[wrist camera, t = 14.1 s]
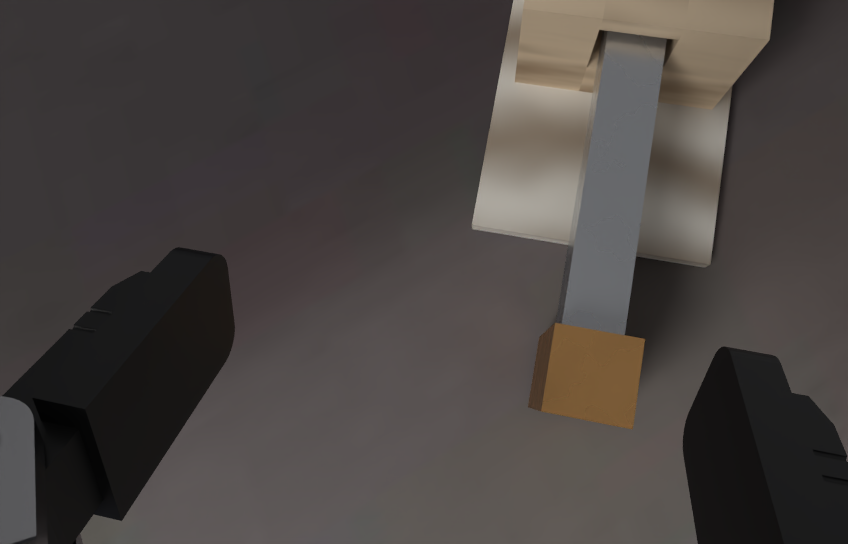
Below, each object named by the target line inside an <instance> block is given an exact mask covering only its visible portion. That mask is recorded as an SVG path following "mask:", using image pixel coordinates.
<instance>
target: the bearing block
mask: <svg viewBox="0 0 848 544" xmlns="http://www.w3.org/2000/svg"><path fill="white" fill-rule="evenodd" d="M773 6H774V0H524V6H523V13H522V22H521V31H520V39H519V48H518V57H517V66H516V74H515V82H517V83H525V84H532V85H539V86H546V87H553V88H560V89H567V90H575V91H582V92H589V93H593V87H594V81H595V74H596V68H597V62H598V56H599V49H600V43H601V37H602V31H603V30H605V31H613V32H621V33H629V34H636V35H644V36H652V37H660V38H667V41H666V48H665V55H664V63H663V70H662V77H661V84H660V91H659V98H658V102H660V103H668V104H675V105H682V106H689V107H696V108H703V109H711V110H712V109H713V108H714V107H715V106H716V104H717V103H718V102H719V101H720V100H721V98H722V97H723V96H724V95H725V93H726V92H727V91H728V90H729V89H730V87H731V86H732V85H733V84H734V83H735V81H736V80H737V79H738V78H739V76H740V75H741V74H742V73H743V72H744V70H745V69H746V68H747V67H748V66H749V64H750V63H751V62H752V61H753V60H754V58H755V57H756V56H757V55H758V53H759V52H760V51H761V50H762V49H763V47H764V46H765V45H766V44H767V43H768V41H769V40H770V32H771V24H772V15H773Z"/></svg>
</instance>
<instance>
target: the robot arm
mask: <svg viewBox="0 0 848 544" xmlns="http://www.w3.org/2000/svg"><path fill="white" fill-rule="evenodd" d="M234 332H235V325H234V316H233V308H232V299H231V291H230V283H229V274H228V267H227V262H226V260H225V258H224V257H223V256H222V255H219V254H214V253H208V252H203V251H197V250H191V249H186V248H180V247H178V248H175V249H173V250H172V251H171V252H170V253H169V254H168V255H167V256H166V257H165V258H164V259H163V260H162V261H161V262H160V263H159V264H158V265H157V266H156V267H155V268H154V269H153V271H152V272H151V273H149V272H144V271H140V272H138V273H137V274H135V275H133V276H131V277H129V278H127V279H125V280H124V281H122V282H120V283H118V284H116V285H114V286H112V287H111V288H110V289H109V290H108V291H107V292H106V293H105V294H104V295H103V296H102V297H101V298H100V299H99V300H98V301H97V302H96V303H95V304H94V305H93V306H92V307H91V311H90V312H86V313H85V314H84V315H83V316H82V317H81V318H80V319H79V320H78V321H77V322H76V323H75V324H74V328H73V329H72V330H71V329H69V330H68V331H67V332H66V333H65V334H64V335H63V336H62V337H61V338H60V339H59V340H58V341H57V342H56V343H55V344H54V345H53V346H52V347H51V348H50V349H49V350H48V351H47V352H46V353H45V354H44V355H43V356H42V357H41V358H40V359H39V360H38V361H37V362H36V363H35V364H34V365H33V366H32V367H31V368H30V369H29V370H28V371H27V372H26V373H25V374H24V375H23V376H22V377H21V378H20V379H19V380H18V381H17V382H16V383H15V384H14V385H13V386H12V387H11V388H10V389H9V390H8V391H7V392H6V393H5V394H4V395H3V396H0V544H83V542H82V538H81V535H80V533H81V531H82V530H83V528H84V527H85V525H86V524H87V523H88V521H89V520H90V518H91V517H92V515H93V514H95V515H99V516H103V517H107V518H112V519H116V520H120V521H122V520H123V518H124V516H125V515H126V513H127V512H128V510H129V509H130V507H131V506H132V504H133V503H134V501H135V500H136V498H137V497H138V495H139V494H140V492H141V490H142V489H143V487H144V486H145V484H146V483H147V481H148V480H149V478H150V477H151V475H152V474H153V472H154V471H155V469H156V468H157V466H158V464H159V463H160V461H161V460H162V458H163V457H164V455H165V454H166V452H167V451H168V449H169V448H170V446H171V445H172V443H173V441H174V440H175V438H176V437H177V435H178V434H179V432H180V431H181V429H182V428H183V426H184V425H185V423H186V422H187V420H188V419H189V417H190V415H191V414H192V412H193V411H194V409H195V408H196V406H197V405H198V403H199V402H200V400H201V399H202V397H203V396H204V394H205V393H206V391H207V389H208V388H209V386H210V385H211V383H212V382H213V380H214V379H215V377H216V376H217V374H218V373H219V371H220V370H221V368H222V367H223V365H224V363H225V362H226V360H227V358H228V356H229V354H230V351H231V348H232V344H233V340H234ZM683 455H684V461H685V467H686V473H687V480H688V486H689V492H690V498H691V504H692V510H693V516H694V523H695V529H696V535H697V541H698V544H848V462H847V461H846V458H847V455H846V452H845V450H844V447H843V445H842V443H841V440H840V438H839V435H838V433H837V431H836V428H835V426H834V424H833V423H832V422H831V421H830V420H829V419H828V418H827V417H826V415H825V414H824V413H823V412H822V411H821V410H820V409H819V408H818V406H817V405H816V404H815V403H814V402H813V401H812V400H811V399H810V397H809V396H805V395H799V394H794V393H791V390H790V387H789V385H788V382H787V379H786V376H785V374H784V371H783V368H782V366H781V363H780V361H779V359H778V358H777V357H776V356H773V355H768V354H763V353H757V352H752V351H746V350H740V349H735V348H729V347H721V348H720V349H719V350H718V351H717V352H716V354H715V356H714V358H713V360H712V362H711V364H710V367H709V369H708V371H707V373H706V376H705V378H704V380H703V382H702V384H701V387H700V389H699V391H698V393H697V395H696V398H695V400H694V402H693V404H692V407H691V409H690V411H689V413H688V416H687V419H686V423H685V428H684V435H683Z"/></svg>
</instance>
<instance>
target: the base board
mask: <svg viewBox="0 0 848 544" xmlns="http://www.w3.org/2000/svg"><path fill="white" fill-rule="evenodd" d="M523 6H524V0H513V6H512V11H511V17H510V22H509V27H508V33H507V38H506V44H505V49H504V54H503V60H502V65H501V71H500V76H499V81H498V87H497V92H496V98H495V103H494V108H493V114H492V119H491V125H490V130H489V135H488V141H487V146H486V151H485V157H484V162H483V168H482V173H481V178H480V184H479V189H478V195H477V200H476V205H475V211H474V216H473V222H472V229H475V230H481V231H487V232H493V233H499V234H505V235H511V236H517V237H523V238H529V239H535V240H541V241H547V242H553V243H559V244H565V245H568V243H569V237H570V231H571V225H572V218H573V212H574V206H575V200H576V193H577V187H578V181H579V175H580V168H581V162H582V156H583V150H584V143H585V137H586V131H587V125H588V118H589V112H590V106H591V99H592V93H589V92H582V91H575V90H567V89H560V88H553V87H546V86H539V85H532V84H525V83H517V82H515V74H516V66H517V57H518V48H519V39H520V31H521V22H522V13H523ZM731 93H732V86H731V87H730V89H729V90H728V91H727V92H726V93H725V95H724V96H723V97H722V98H721V100H720V101H719V102H718V103H717V104H716V106H715V107H714V108H713V109H712V110H711V109H703V108H696V107H689V106H682V105H675V104H668V103H660V102H658V105H657V112H656V119H655V126H654V133H653V140H652V147H651V154H650V161H649V168H648V175H647V182H646V189H645V196H644V203H643V210H642V217H641V224H640V231H639V238H638V245H637V253H636V256H637V257H643V258H649V259H655V260H661V261H667V262H673V263H679V264H685V265H691V266H697V267H703V268H705V267H707V266H709V265H710V264H711V256H712V248H713V239H714V231H715V223H716V215H717V207H718V199H719V191H720V182H721V174H722V166H723V158H724V150H725V142H726V134H727V125H728V117H729V109H730V101H731Z"/></svg>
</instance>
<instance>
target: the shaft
mask: <svg viewBox="0 0 848 544" xmlns="http://www.w3.org/2000/svg"><path fill="white" fill-rule="evenodd" d="M666 41H667V38H660V37H652V36H644V35H636V34H629V33H621V32H613V31H605V30H603V31H602V37H601V43H600V49H599V56H598V62H597V68H596V74H595V81H594V87H593V93H592V99H591V106H590V112H589V118H588V125H587V131H586V137H585V143H584V150H583V156H582V162H581V168H580V175H579V181H578V187H577V193H576V200H575V206H574V212H573V218H572V225H571V231H570V237H569V243H568V250H567V256H566V262H565V268H564V275H563V281H562V287H561V293H560V300H559V306H558V312H557V318H556V323H554V324H553V325H552V326H551V327H550V328H549V329H548V330H547V331H546V332H545V333H543V334H542V335H541V336H540V337H539V343H538V349H537V355H536V361H535V367H534V373H533V379H532V385H531V392H530V398H529V404H528V407H529V408H532V409H535V410H538V411H542V412H547V413H552V414H557V415H562V416H567V417H572V418H578V419H583V420H588V421H593V422H598V423H603V424H608V425H613V426H618V427H623V428H628V429H633V424H634V416H635V409H636V402H637V395H638V387H639V380H640V373H641V365H642V358H643V351H644V343H645V339H642V338H637V337H631V336H626V335H625V330H626V323H627V316H628V309H629V302H630V295H631V288H632V281H633V274H634V267H635V260H636V253H637V245H638V238H639V231H640V224H641V217H642V210H643V203H644V196H645V189H646V182H647V175H648V168H649V161H650V154H651V147H652V140H653V133H654V126H655V119H656V112H657V105H658V98H659V91H660V84H661V77H662V70H663V63H664V55H665V48H666Z"/></svg>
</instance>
